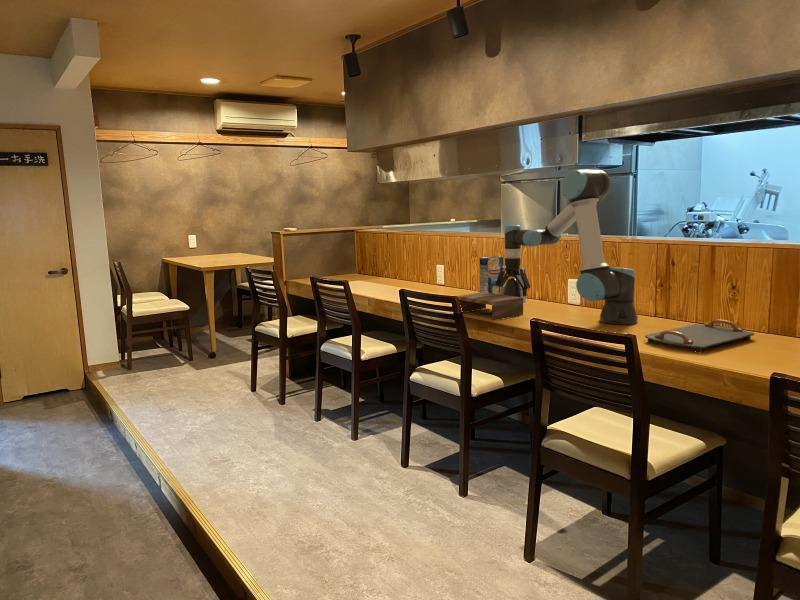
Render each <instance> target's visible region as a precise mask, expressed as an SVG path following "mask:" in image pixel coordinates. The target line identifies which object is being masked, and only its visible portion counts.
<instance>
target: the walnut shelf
mask: <svg viewBox="0 0 800 600" xmlns="http://www.w3.org/2000/svg"><path fill="white" fill-rule="evenodd" d="M456 296H457V297H458V298H459V302H460V305H461V308H462V311H463V313H468V312H467V311H469V312H473V311H472V310H475V311H478V310H477V309H480V310H484V309H483V308H486V309H487V305H488V306H491V320H492V319H493V320H492V321H498V320H497V319H500V320H503V319H502V318H505V319H508V318H507V317H510V318H514V317H513V316H515V317H519V316H518V315H520V316H523V315H524V303H523V298H522V297H515V296H508V295H501V294H494V293H487V292H480V291H479V292H474V293H467V294H461V295H460V294H459V295H456Z"/></svg>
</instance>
